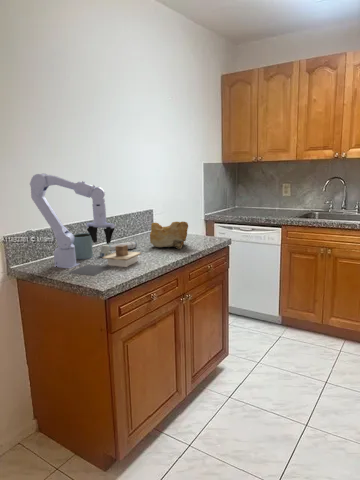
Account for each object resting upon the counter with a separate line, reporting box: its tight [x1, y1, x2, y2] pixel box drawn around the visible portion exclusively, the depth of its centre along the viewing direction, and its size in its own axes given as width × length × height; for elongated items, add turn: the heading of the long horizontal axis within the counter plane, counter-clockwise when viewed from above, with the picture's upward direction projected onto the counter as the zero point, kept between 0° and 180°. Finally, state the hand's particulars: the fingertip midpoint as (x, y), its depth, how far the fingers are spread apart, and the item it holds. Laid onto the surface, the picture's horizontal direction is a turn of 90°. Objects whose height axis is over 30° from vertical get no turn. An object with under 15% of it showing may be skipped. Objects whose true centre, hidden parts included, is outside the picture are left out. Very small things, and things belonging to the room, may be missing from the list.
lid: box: [101, 243, 142, 261], centre depth 170 cm, size 13×13×5 cm
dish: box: [107, 256, 139, 268], centre depth 171 cm, size 10×10×4 cm
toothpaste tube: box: [99, 241, 138, 258], centre depth 194 cm, size 5×7×25 cm
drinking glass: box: [73, 232, 94, 260], centre depth 184 cm, size 10×10×12 cm
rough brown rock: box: [149, 221, 189, 250], centre depth 204 cm, size 23×17×15 cm
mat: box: [68, 264, 113, 277], centre depth 162 cm, size 14×14×1 cm
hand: (101, 242), depth 170 cm, fingers open, 7 cm apart
